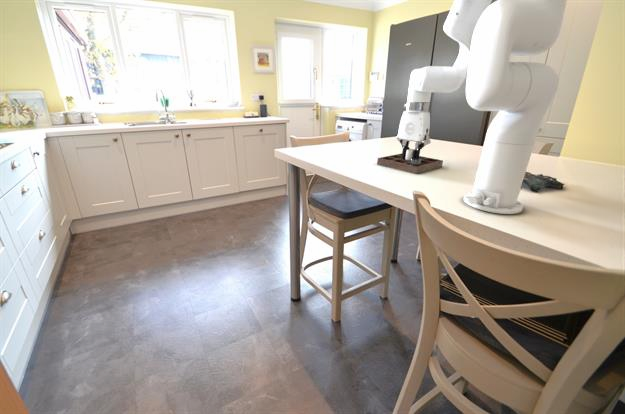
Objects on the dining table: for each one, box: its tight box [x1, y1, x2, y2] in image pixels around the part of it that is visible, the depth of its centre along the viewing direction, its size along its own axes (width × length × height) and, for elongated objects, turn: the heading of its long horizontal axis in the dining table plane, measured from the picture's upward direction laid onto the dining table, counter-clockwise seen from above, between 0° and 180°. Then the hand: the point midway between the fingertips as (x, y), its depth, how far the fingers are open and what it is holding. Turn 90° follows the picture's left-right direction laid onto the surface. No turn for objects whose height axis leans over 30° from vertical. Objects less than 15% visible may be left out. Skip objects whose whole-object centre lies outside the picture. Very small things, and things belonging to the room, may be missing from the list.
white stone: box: [405, 148, 415, 160], centre depth 106 cm, size 4×4×4 cm
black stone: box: [410, 158, 421, 166], centre depth 99 cm, size 4×4×4 cm
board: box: [376, 152, 444, 175], centre depth 107 cm, size 17×17×2 cm
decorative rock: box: [522, 171, 565, 193], centre depth 87 cm, size 19×6×15 cm
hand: (410, 158), depth 106 cm, fingers closed on white stone, 3 cm apart
